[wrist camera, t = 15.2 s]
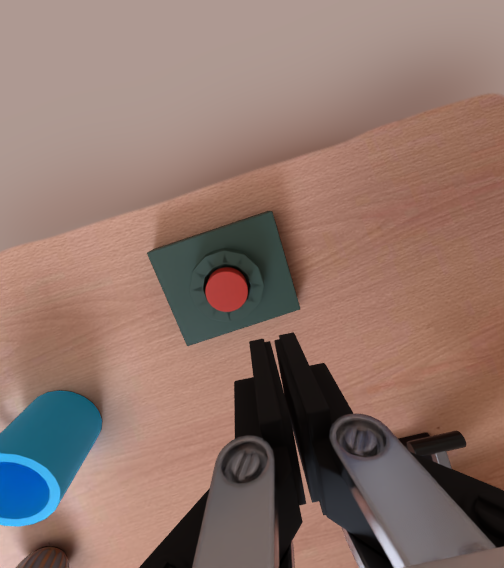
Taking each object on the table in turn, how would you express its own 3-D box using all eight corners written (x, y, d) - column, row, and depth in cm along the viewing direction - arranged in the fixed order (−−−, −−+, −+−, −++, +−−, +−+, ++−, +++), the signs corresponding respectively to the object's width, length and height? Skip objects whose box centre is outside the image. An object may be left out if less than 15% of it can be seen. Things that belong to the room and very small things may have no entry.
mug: (82, 381, 31) (31, 441, 23) (113, 438, 33) (77, 511, 25) (-21, 412, 31) (-107, 483, 23) (17, 467, 33) (-50, 548, 25)
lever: (402, 437, 28) (415, 446, 26) (449, 426, 29) (467, 435, 26) (452, 611, 26) (472, 639, 23) (504, 599, 26) (529, 625, 23)
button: (239, 261, 25) (240, 265, 23) (252, 298, 26) (253, 304, 24) (201, 274, 25) (199, 279, 23) (215, 310, 26) (213, 317, 24)
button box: (268, 210, 27) (275, 211, 23) (295, 302, 30) (305, 316, 26) (153, 249, 27) (140, 256, 24) (190, 336, 30) (184, 355, 26)
